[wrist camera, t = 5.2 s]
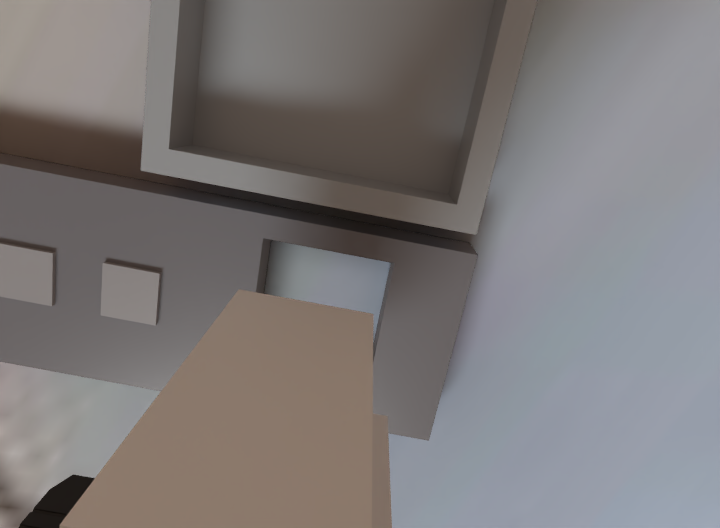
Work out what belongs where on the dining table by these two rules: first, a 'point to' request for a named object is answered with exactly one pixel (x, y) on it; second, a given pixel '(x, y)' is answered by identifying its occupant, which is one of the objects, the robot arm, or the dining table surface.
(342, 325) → the block
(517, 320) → the dining table surface
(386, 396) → the power strip
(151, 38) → the tray
